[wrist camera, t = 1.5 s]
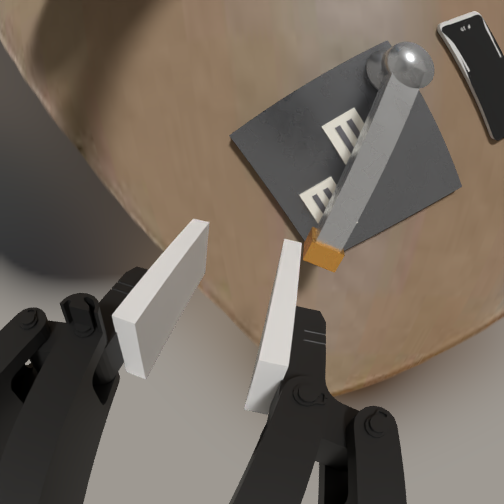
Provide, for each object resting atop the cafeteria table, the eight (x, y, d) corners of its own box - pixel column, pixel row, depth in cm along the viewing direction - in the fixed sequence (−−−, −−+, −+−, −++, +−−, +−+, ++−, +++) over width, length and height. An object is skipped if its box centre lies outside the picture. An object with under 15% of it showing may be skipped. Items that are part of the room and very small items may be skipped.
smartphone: (495, 142, 23) (437, 24, 18) (489, 140, 24) (432, 26, 19) (529, 121, 20) (477, 10, 15) (523, 119, 21) (472, 12, 16)
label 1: (321, 126, 27) (321, 126, 27) (353, 107, 25) (354, 107, 25) (351, 174, 29) (352, 175, 28) (383, 157, 27) (384, 158, 27)
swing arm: (388, 39, 18) (398, 32, 15) (427, 61, 18) (441, 58, 15) (300, 241, 29) (298, 258, 26) (336, 256, 29) (338, 274, 26)
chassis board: (232, 134, 30) (217, 141, 25) (388, 40, 21) (403, 30, 17) (319, 258, 36) (319, 283, 31) (460, 181, 27) (482, 197, 22)
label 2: (299, 194, 31) (299, 195, 31) (331, 176, 29) (331, 177, 29) (327, 237, 33) (327, 238, 32) (357, 221, 31) (358, 222, 31)
